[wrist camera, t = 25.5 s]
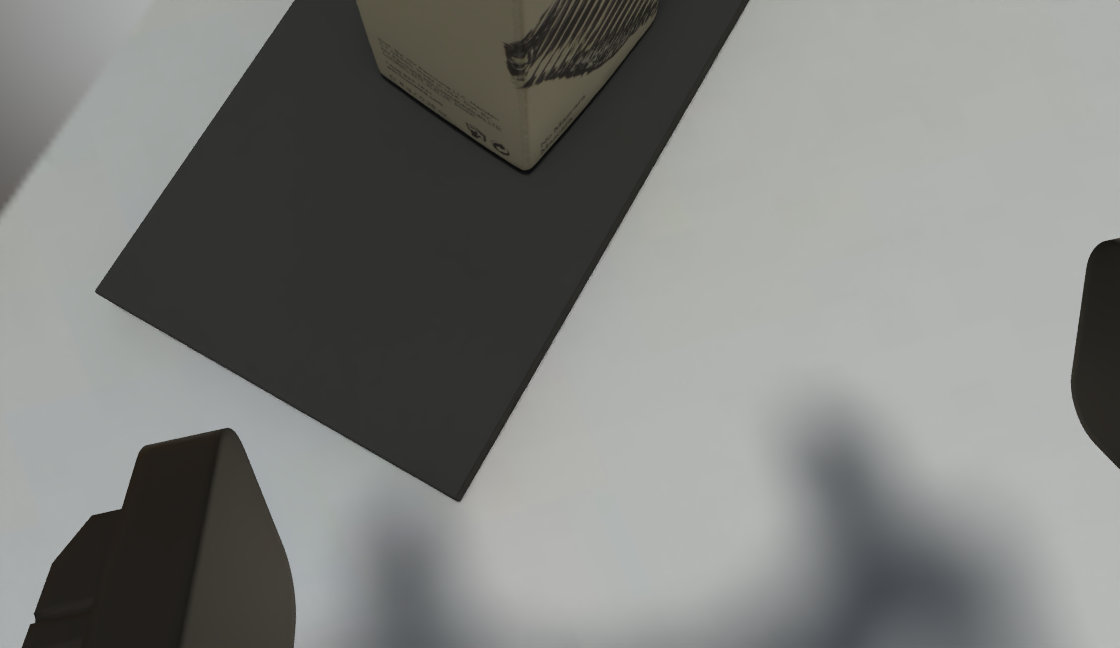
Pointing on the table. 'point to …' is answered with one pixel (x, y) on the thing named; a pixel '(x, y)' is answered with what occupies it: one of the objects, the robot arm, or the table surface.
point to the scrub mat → (396, 235)
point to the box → (505, 61)
